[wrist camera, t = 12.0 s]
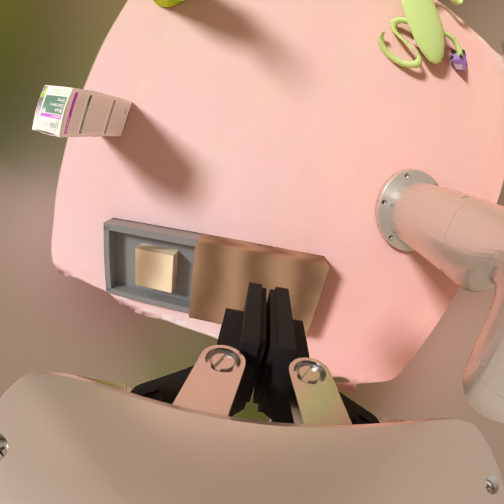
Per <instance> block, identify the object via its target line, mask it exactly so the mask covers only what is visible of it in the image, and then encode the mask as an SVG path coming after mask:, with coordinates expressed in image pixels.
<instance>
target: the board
mask: <svg viewBox="0 0 504 504" xmlns="http://www.w3.org/2000/svg"><path fill="white" fill-rule="evenodd" d="M329 268H330V267H329V265H328V263H327V261H326V259H325V257H324V256H319V255H314V254H309V253H304V252H299V251H293V250H288V249H283V248H278V247H272V246H267V245H262V244H256V243H251V242H245V241H240V240H235V239H229V238H224V237H218V236H213V235H207V234H202V235H201V236H200V238H199V239H198V240H197V241H196V245H195V254H194V264H193V274H192V285H191V297H190V310H189V317H190V318H195V319H199V320H204V321H209V322H214V323H219V324H222V322H223V318H224V314H225V310H226V308H230V309H235V310H241V311H244V307H245V301H246V296H247V291H248V286H249V282H253V283H259V284H262V288H266V289H267V290H266V303H267V299H268V295H269V291H270V289H273V290H274V289H275V287H281V288H287V289H289V295H290V302H291V309H292V317H293V319H295V320H302V321H303V325H304V330H305V335H306V336H307V334H308V331H309V328H310V325H311V323H312V320H313V317H314V314H315V311H316V308H317V305H318V302H319V299H320V296H321V293H322V290H323V287H324V284H325V281H326V277H327V274H328V271H329Z"/></svg>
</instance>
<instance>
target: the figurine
mask: <svg viewBox="0 0 504 504" xmlns="http://www.w3.org/2000/svg"><path fill="white" fill-rule="evenodd" d="M401 1H402V6H403V10H404V13H405V16H406V18H404V17H396V18H394V19H392V20H391V23H390V25H391V28H392V30H393V32H394V33H395V34H396V35H397V36H398V37H399V38H400V39H401V40H402V41H403V42H404V43H406V44H407V45H408V46H410V47H411V48H412V49H413V50H414V51H415V52H416V54H417V58H416V60H415V61H404V60H402V59H400V58H398V57H396V56H395V55H393V54H392V53H391V52H390V51H389V50H388V48H387V47H386V45H385V43H384V39H383V36H384V33H385V32H383V33H381V34H380V35H379V37H378V43H379V46H380V48H381V50H382V52H383V53H384V54H385V56H386V57H387V58H388V59H390V60H391V61H392V62H394V63H396V64H397V65H400V66H402V67H405V68H418V67H419V66H420V65H421V63H422V58H421V56H420V55H419V53H418V52H417V51H416V50H415V49H414V48H413V47H412V46H411V45H410V44H409V43H408V42H407V41H406V40H405V39H404V38H403V37H402V36H401V35H400V34H399V32H398V30H397V28H396V27H397V24H399V23H406V24H408V25H409V27H410V30H411V32H412V35H413V37H414V41H413V43H414V44H415V46H417V47H419V48H420V50H421V52H422V53H423V54H424V56H425V57H426V58H427V60H428V61H430V62H432V63H433V64H438V63H441V60H442V58H443V56H444V49H445V39H444V36H445V37H448V38H449V39H450V40H451V41H452V42H453V44H454V45H455V47H456V50H457V51H455V50H452V53H453V56H450V59H451V61H452V63H453V66H454V68H455V70H464V71H466V67H467V61H466V54H465V51H464V50H462V48H461V46H460V45H459V43H458V41H457V40H456V38H455V37H454V36H452V35H451V34H449V33H447V32H446V31H444V30H443V26H442V23H441V19H440V16H439V13H438V11H437V8H436V6H435V4H434V2H433V0H401ZM450 1H451V2H452V3H454V4H456V5H461V4H462V2H463V0H458V1H457V0H450Z"/></svg>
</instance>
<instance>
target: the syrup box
mask: <svg viewBox="0 0 504 504" xmlns="http://www.w3.org/2000/svg"><path fill="white" fill-rule="evenodd" d="M131 105H132V102H131V101H128V100H124V99H121V98H117V97H114V96H110V95H106V94H102V93H98V92H93V91H88V90H83V89H77V88H69V87H60V86H50V85H45V86H44V88H43V90H42V93H41V96H40V98H39V101H38V105H37V108H36V112H35V117H34V122H33V127H32V130H36V131H39V132H42V133H45V134H48V135H53V136H57V137H85V136H121V134H122V131H123V128H124V125H125V122H126V119H127V116H128V113H129V110H130V108H131Z"/></svg>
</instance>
